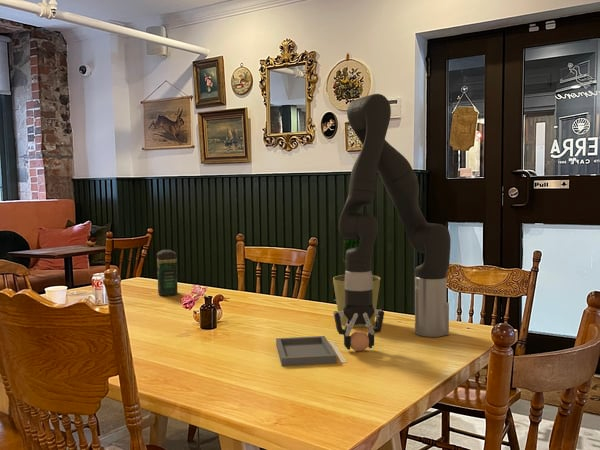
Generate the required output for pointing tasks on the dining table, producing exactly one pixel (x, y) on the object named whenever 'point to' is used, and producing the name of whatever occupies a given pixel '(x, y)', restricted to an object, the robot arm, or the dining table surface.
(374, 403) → the dining table surface
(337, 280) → the potted cactus
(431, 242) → the robot arm
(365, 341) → the ball
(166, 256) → the coffee jar
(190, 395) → the dining table surface
